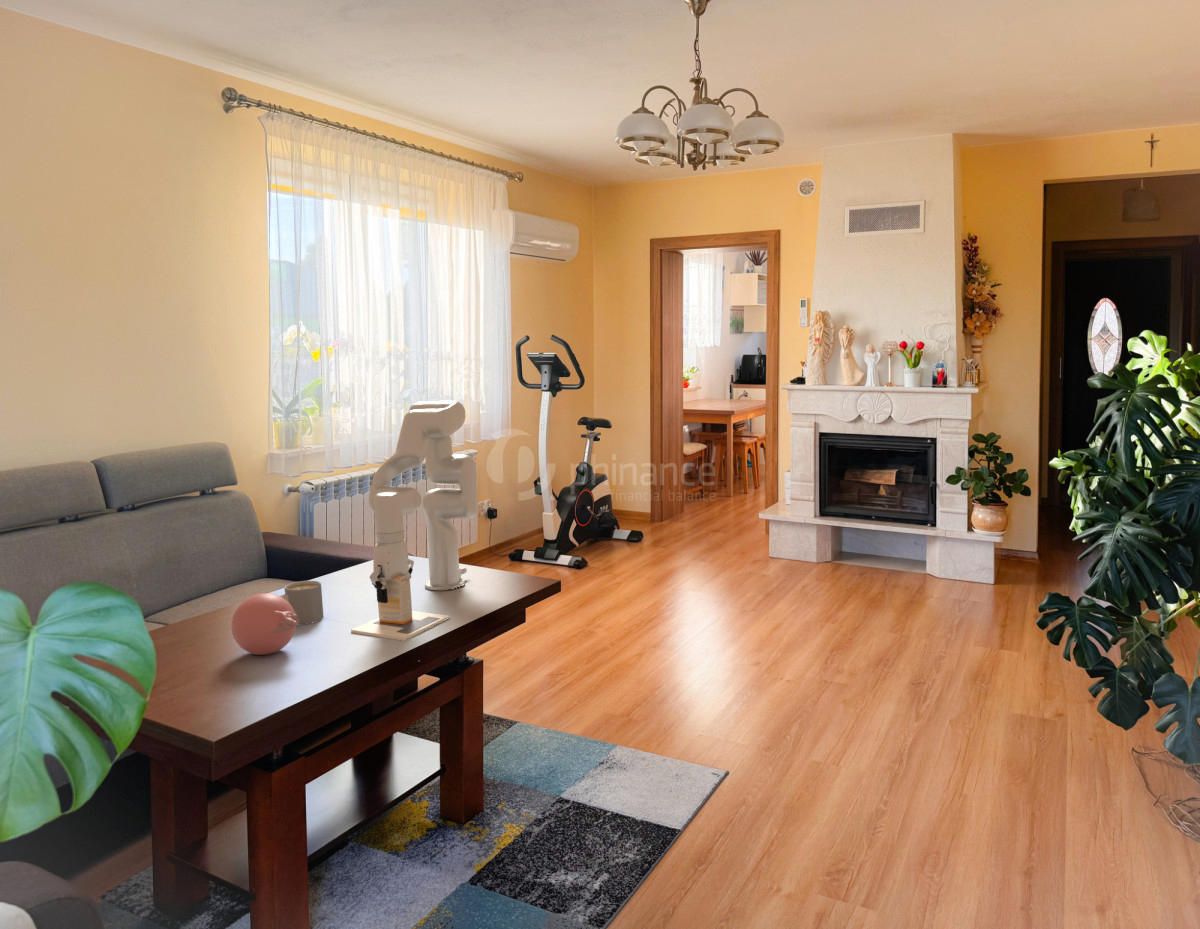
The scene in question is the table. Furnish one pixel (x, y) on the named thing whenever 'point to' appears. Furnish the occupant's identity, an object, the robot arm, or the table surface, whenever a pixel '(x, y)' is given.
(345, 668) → the table surface
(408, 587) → the supplement box
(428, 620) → the board
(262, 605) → the balloon
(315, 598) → the coffee mug
